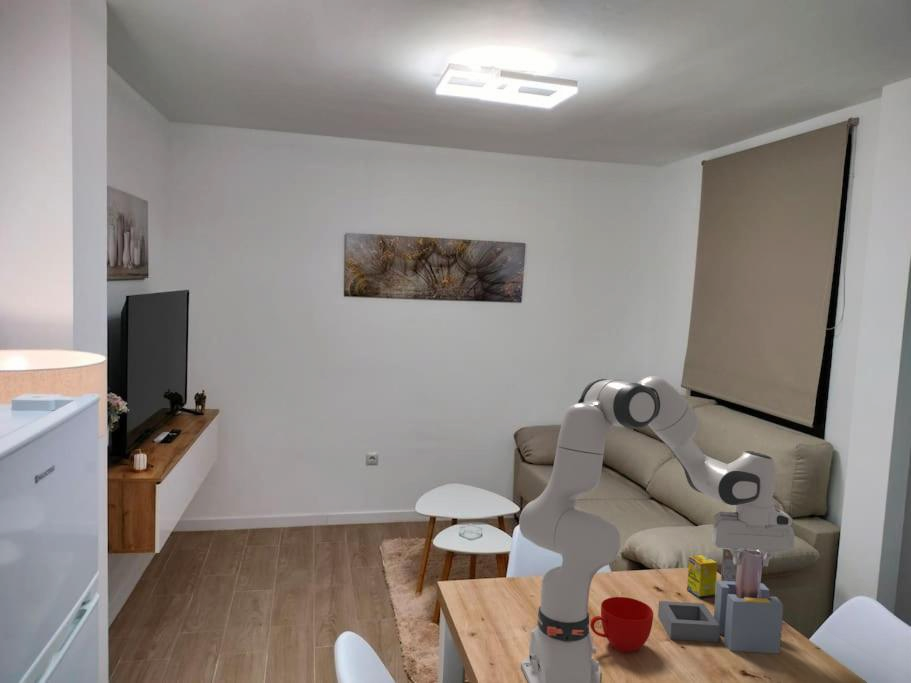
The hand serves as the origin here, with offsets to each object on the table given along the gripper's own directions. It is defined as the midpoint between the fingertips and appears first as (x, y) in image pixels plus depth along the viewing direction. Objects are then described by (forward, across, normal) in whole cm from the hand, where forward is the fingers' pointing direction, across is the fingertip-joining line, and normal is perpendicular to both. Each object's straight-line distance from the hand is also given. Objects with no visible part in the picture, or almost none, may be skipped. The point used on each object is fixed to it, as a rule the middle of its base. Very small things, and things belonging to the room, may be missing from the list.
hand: (750, 564), depth 175 cm
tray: (+20, -14, +4) cm, 25 cm away
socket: (+20, 0, 0) cm, 20 cm away
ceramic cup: (+21, -35, -8) cm, 41 cm away
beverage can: (+12, 0, 0) cm, 12 cm away
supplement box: (+21, -3, +27) cm, 34 cm away
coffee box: (+21, +3, +18) cm, 28 cm away
